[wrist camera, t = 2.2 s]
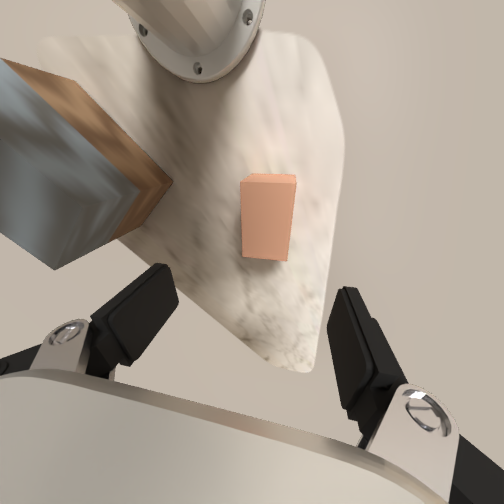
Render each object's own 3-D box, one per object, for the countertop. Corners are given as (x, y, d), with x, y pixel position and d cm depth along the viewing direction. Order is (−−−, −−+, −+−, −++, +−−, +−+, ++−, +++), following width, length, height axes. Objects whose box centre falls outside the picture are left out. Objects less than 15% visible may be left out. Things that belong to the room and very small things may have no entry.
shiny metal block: (55, 151, 24) (-113, 153, 14) (74, 80, 20) (-155, 9, 10) (140, 226, 28) (54, 270, 18) (173, 181, 23) (82, 207, 13)
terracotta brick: (252, 173, 21) (240, 181, 16) (295, 174, 20) (296, 183, 15) (252, 234, 25) (242, 256, 20) (287, 237, 24) (286, 261, 19)
